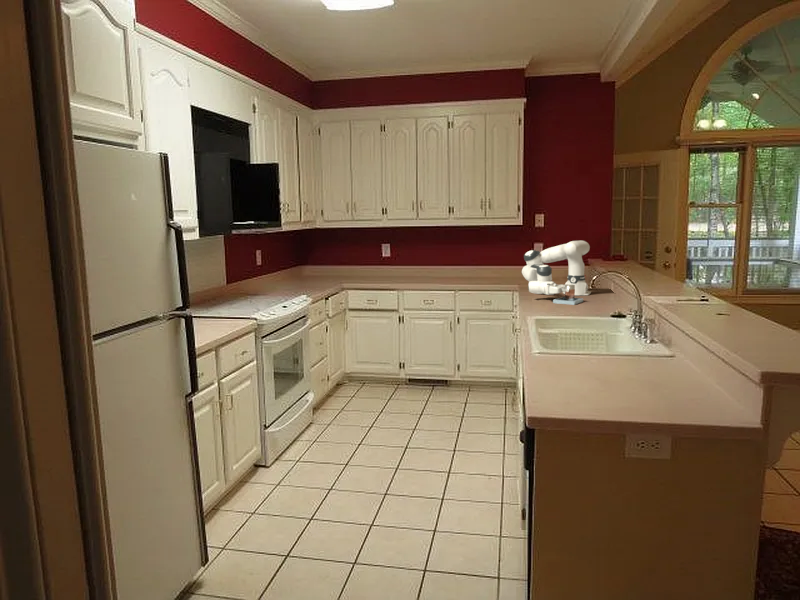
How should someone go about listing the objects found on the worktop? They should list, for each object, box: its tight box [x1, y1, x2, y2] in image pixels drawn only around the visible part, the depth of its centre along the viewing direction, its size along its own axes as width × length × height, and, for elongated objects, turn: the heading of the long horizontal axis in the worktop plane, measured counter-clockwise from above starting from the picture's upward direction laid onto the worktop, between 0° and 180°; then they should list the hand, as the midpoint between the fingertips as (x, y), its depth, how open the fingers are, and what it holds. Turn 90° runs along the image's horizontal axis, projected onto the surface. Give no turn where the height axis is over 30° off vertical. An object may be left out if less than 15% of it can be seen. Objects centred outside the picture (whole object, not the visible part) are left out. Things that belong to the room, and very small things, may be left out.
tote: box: [552, 296, 584, 306], centre depth 375 cm, size 16×14×3 cm
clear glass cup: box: [564, 284, 576, 301], centre depth 377 cm, size 6×6×11 cm
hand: (571, 289), depth 376 cm, fingers open, 7 cm apart
